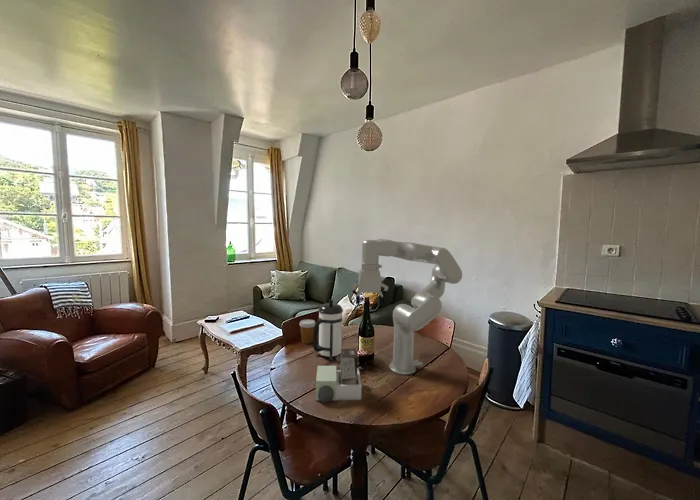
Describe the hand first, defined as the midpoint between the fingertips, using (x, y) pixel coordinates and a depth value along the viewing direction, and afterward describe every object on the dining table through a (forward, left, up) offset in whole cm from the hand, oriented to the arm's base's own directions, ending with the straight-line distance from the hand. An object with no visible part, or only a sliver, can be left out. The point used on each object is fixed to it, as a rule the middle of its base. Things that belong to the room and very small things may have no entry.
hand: (369, 304), depth 140 cm
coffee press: (+18, -20, -34) cm, 43 cm away
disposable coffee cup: (+31, -40, -34) cm, 61 cm away
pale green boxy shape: (+14, +14, -33) cm, 39 cm away
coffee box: (+9, +15, -33) cm, 37 cm away
